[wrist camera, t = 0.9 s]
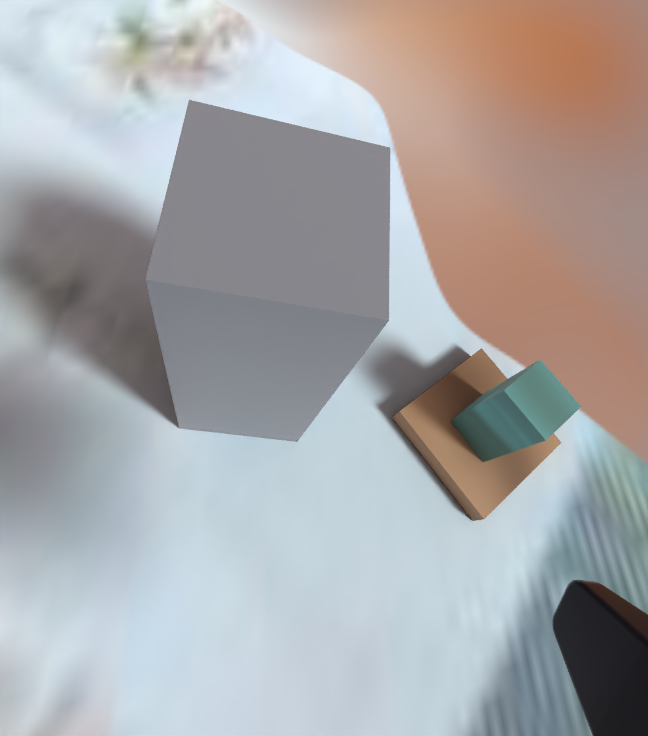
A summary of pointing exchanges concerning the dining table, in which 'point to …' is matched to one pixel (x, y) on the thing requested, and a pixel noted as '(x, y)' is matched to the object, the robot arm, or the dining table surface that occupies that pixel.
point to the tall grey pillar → (267, 270)
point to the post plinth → (454, 450)
